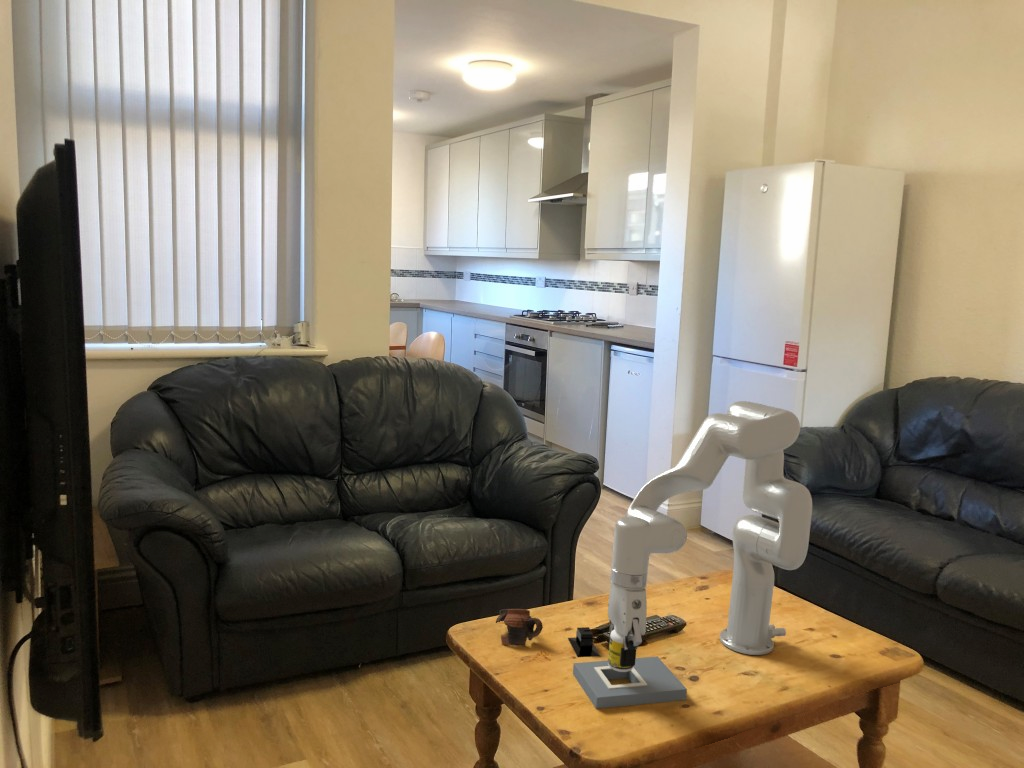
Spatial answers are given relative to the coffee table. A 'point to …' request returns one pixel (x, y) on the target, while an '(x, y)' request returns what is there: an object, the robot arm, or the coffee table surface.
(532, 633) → the pottery mug
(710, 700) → the coffee table surface
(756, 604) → the robot arm
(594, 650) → the black stand
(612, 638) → the supplement bottle
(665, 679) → the board
